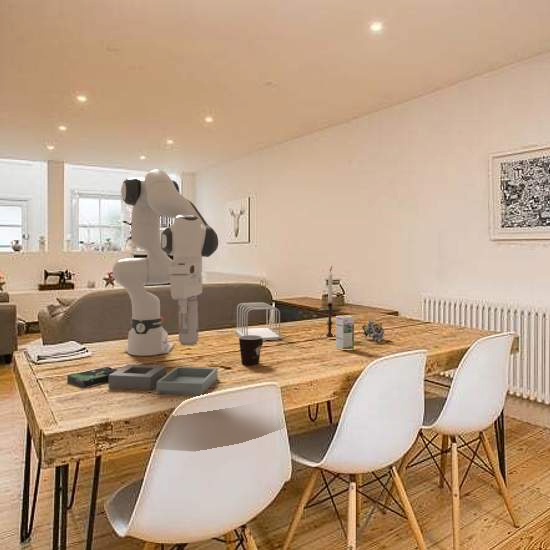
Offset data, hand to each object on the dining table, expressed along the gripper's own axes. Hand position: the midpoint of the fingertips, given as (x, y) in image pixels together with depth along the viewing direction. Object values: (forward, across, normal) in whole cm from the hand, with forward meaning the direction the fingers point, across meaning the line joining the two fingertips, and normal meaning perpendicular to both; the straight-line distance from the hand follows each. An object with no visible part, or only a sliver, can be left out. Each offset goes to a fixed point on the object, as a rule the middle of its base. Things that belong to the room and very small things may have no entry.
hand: (188, 311), depth 150 cm
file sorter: (+24, -85, +7) cm, 89 cm away
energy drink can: (+10, 0, 0) cm, 11 cm away
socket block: (+24, -1, -17) cm, 29 cm away
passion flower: (+24, -83, +62) cm, 106 cm away
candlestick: (+24, -86, +42) cm, 99 cm away
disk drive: (+24, -2, -32) cm, 40 cm away
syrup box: (+24, -62, +49) cm, 82 cm away
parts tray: (+24, 0, 0) cm, 24 cm away
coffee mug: (+24, -32, +15) cm, 43 cm away
